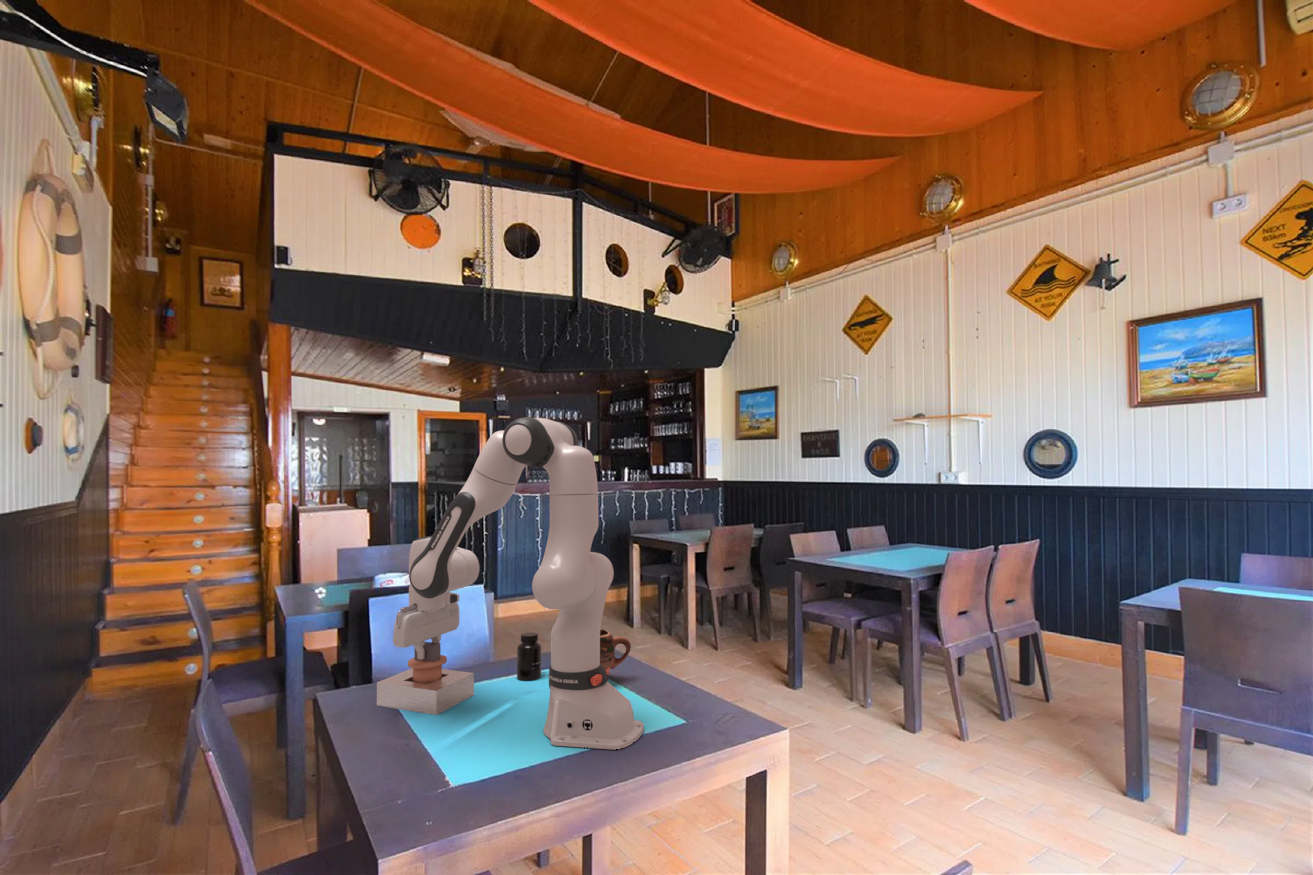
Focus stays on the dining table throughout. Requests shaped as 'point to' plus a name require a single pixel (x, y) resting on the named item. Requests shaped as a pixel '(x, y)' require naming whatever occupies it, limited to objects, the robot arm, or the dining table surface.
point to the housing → (425, 692)
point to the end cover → (428, 664)
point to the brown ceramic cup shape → (611, 649)
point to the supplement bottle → (529, 657)
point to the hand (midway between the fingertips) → (427, 656)
